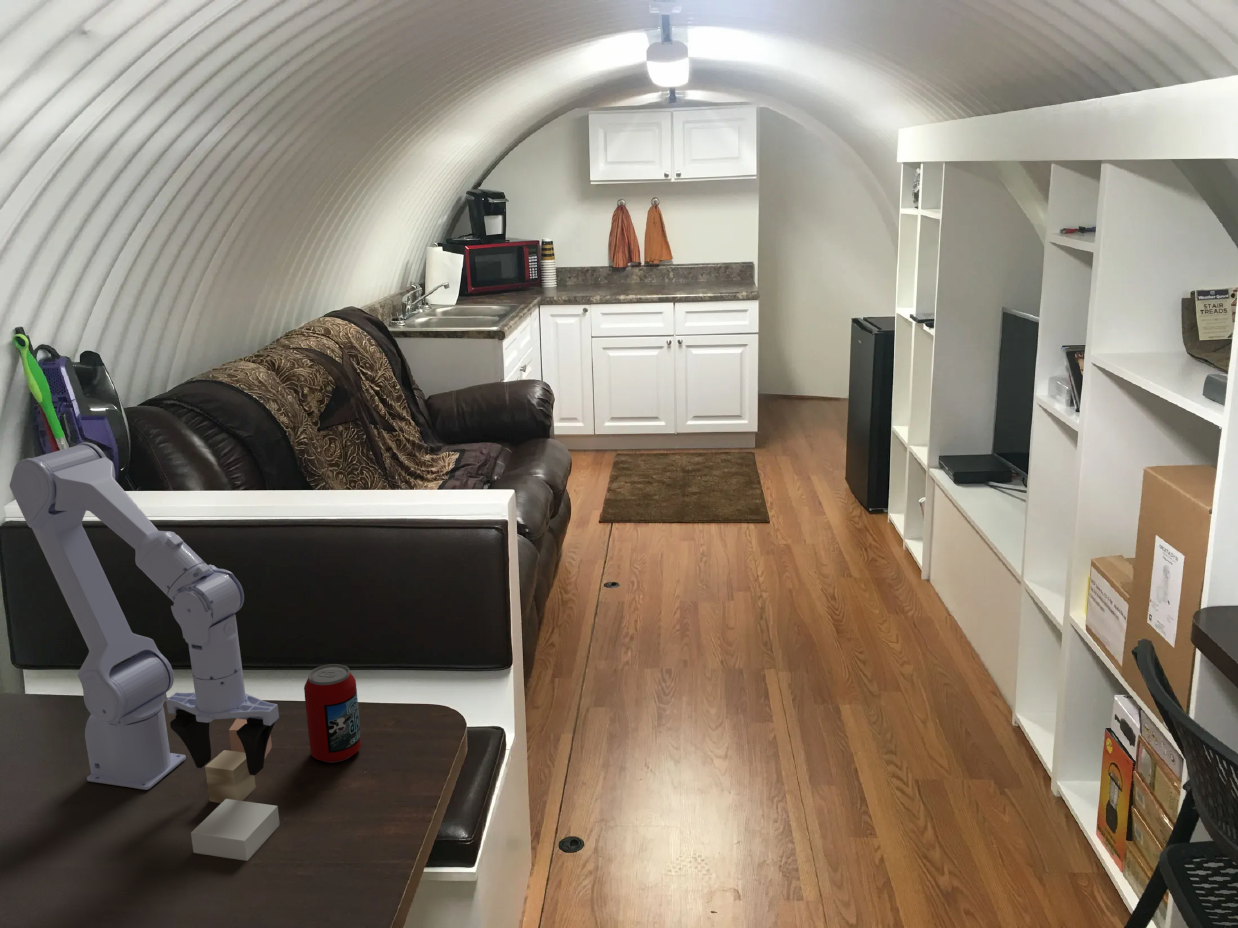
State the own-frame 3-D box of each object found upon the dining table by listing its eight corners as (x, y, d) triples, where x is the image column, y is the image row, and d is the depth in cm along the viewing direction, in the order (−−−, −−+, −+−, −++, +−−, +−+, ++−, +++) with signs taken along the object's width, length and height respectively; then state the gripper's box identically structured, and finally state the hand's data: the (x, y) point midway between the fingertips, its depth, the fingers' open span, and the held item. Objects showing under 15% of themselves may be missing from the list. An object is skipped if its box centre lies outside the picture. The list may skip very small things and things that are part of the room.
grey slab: (193, 854, 121) (190, 832, 121) (228, 819, 128) (226, 798, 127) (247, 863, 120) (244, 840, 119) (280, 827, 126) (277, 805, 126)
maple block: (209, 801, 131) (204, 766, 130) (228, 784, 135) (224, 749, 134) (237, 805, 130) (233, 770, 129) (255, 787, 134) (251, 753, 133)
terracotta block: (232, 763, 140) (228, 729, 139) (242, 747, 144) (238, 714, 142) (262, 762, 140) (258, 729, 139) (271, 746, 144) (268, 714, 142)
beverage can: (348, 768, 138) (341, 686, 135) (301, 763, 140) (293, 682, 136) (370, 742, 145) (363, 663, 141) (325, 737, 146) (317, 659, 143)
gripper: (144, 678, 126) (159, 777, 130) (250, 690, 123) (263, 791, 126) (181, 653, 133) (195, 748, 136) (283, 663, 129) (294, 761, 133)
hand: (230, 767), depth 132 cm, fingers open, 7 cm apart
